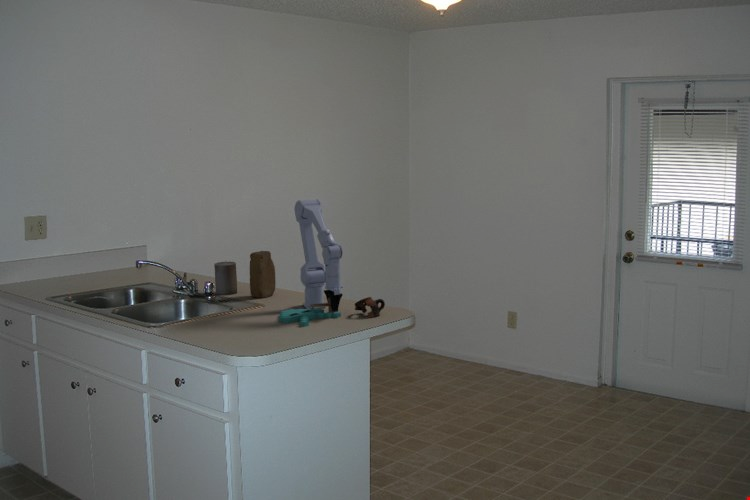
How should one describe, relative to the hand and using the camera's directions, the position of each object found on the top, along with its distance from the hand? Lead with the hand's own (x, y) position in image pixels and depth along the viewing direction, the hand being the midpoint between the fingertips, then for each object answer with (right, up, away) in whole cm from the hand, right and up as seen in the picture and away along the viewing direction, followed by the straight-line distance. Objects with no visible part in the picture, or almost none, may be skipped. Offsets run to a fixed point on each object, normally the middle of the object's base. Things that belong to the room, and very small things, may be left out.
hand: (333, 309), depth 306 cm
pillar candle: (-51, +4, +44) cm, 68 cm away
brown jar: (-33, +3, +36) cm, 49 cm away
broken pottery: (+15, -2, -3) cm, 15 cm away
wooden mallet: (-4, -2, -1) cm, 4 cm away
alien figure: (-11, -4, -7) cm, 13 cm away
